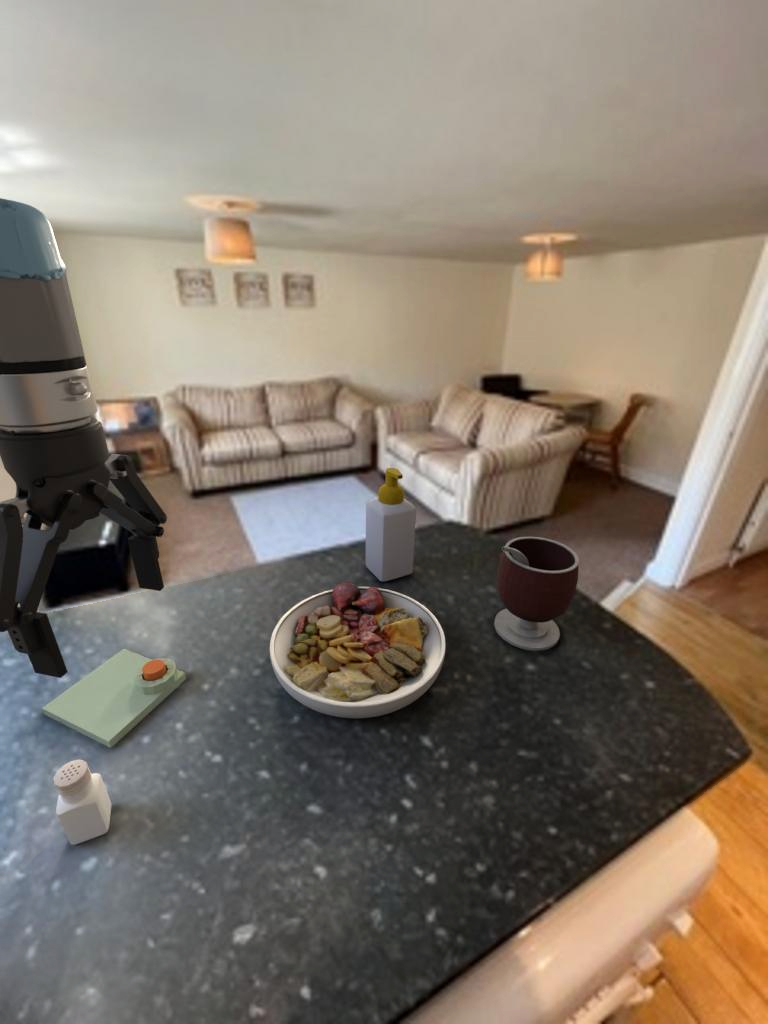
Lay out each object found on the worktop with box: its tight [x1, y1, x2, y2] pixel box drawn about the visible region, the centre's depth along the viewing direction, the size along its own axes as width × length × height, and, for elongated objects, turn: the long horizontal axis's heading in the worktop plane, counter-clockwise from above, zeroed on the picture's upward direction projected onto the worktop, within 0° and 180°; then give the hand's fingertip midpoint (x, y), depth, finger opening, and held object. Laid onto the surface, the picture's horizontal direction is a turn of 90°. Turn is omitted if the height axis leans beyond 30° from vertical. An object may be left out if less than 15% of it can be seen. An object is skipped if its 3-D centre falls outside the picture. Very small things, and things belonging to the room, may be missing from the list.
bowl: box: [269, 581, 446, 719], centre depth 78 cm, size 30×30×8 cm
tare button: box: [142, 658, 166, 681], centre depth 71 cm, size 3×3×2 cm
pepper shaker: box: [53, 759, 112, 846], centre depth 51 cm, size 4×4×10 cm
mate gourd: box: [493, 536, 580, 652], centre depth 83 cm, size 16×14×20 cm
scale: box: [41, 648, 187, 749], centre depth 70 cm, size 14×14×3 cm
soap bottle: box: [365, 467, 417, 583], centre depth 101 cm, size 9×9×25 cm
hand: (108, 624), depth 46 cm, fingers open, 13 cm apart
